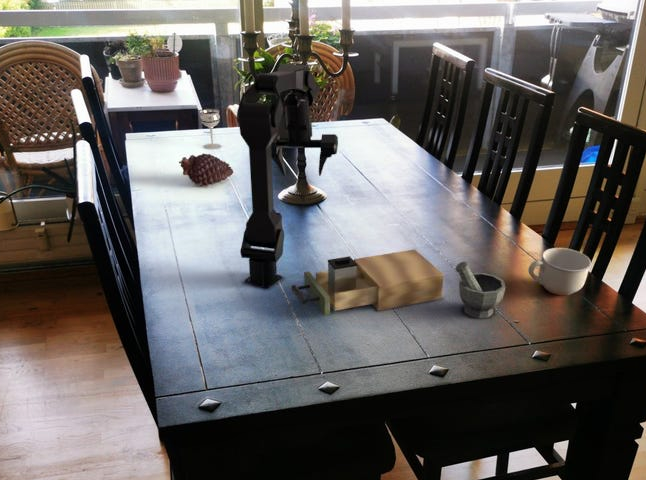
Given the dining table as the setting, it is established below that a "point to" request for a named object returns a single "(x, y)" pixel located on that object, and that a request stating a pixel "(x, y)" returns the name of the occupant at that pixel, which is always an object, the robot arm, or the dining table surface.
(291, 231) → the dining table surface
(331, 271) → the metal box
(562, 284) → the teacup
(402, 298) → the cabinet
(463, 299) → the mortar and pestle
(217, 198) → the dining table surface
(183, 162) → the pine cone
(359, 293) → the drawer
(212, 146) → the wineglass
